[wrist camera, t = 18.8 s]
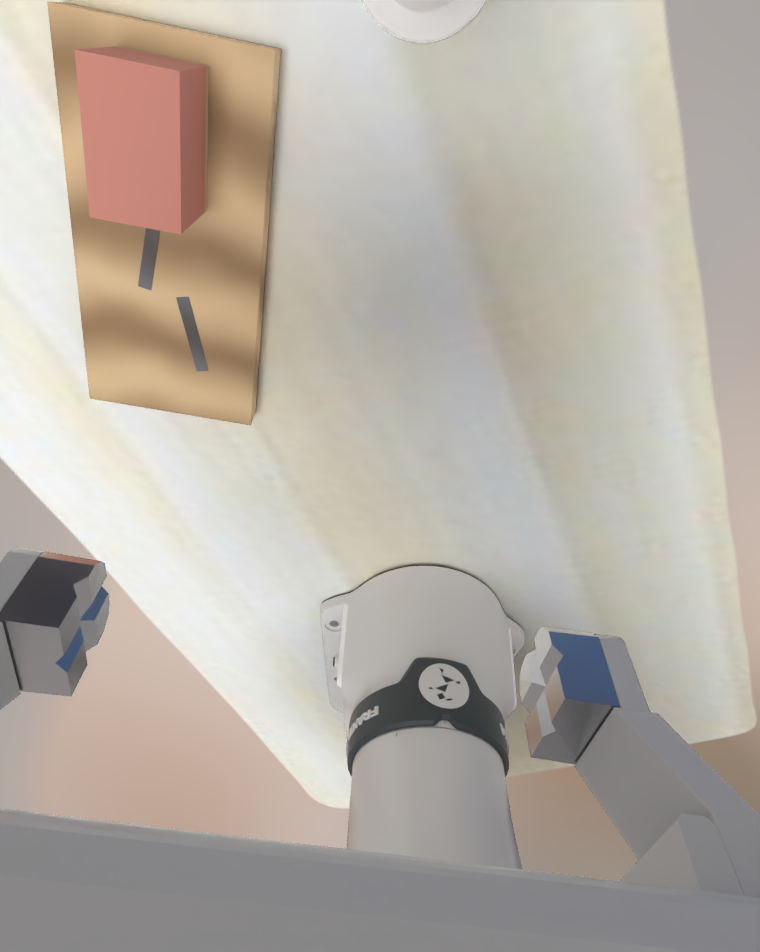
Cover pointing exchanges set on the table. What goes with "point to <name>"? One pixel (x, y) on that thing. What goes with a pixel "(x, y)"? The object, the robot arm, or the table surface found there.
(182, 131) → the block
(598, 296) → the table surface
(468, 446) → the table surface
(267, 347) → the table surface
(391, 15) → the candle
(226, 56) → the plank
